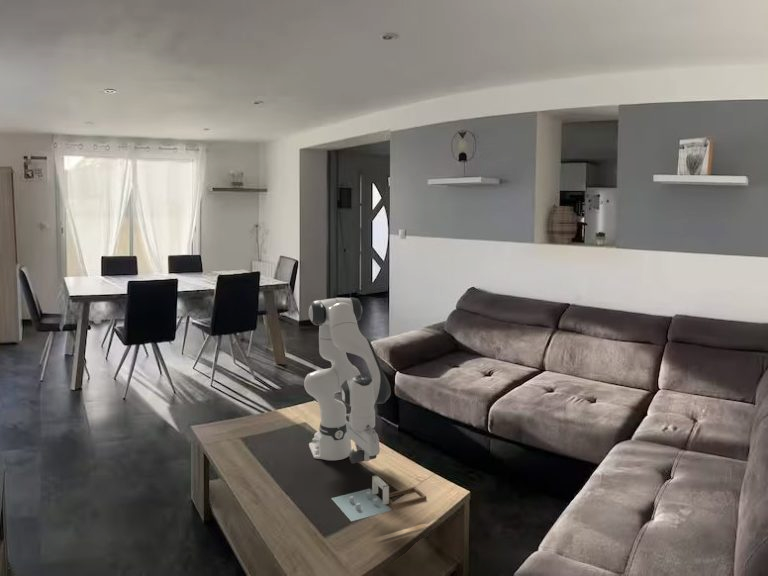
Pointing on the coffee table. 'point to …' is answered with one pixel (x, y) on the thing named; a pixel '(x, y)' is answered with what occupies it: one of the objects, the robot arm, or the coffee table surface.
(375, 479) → the u-shaped staple bracket
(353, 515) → the clip board
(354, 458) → the dark grey rounded bar
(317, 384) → the robot arm
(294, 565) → the coffee table surface
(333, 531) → the coffee table surface
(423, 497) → the tray
